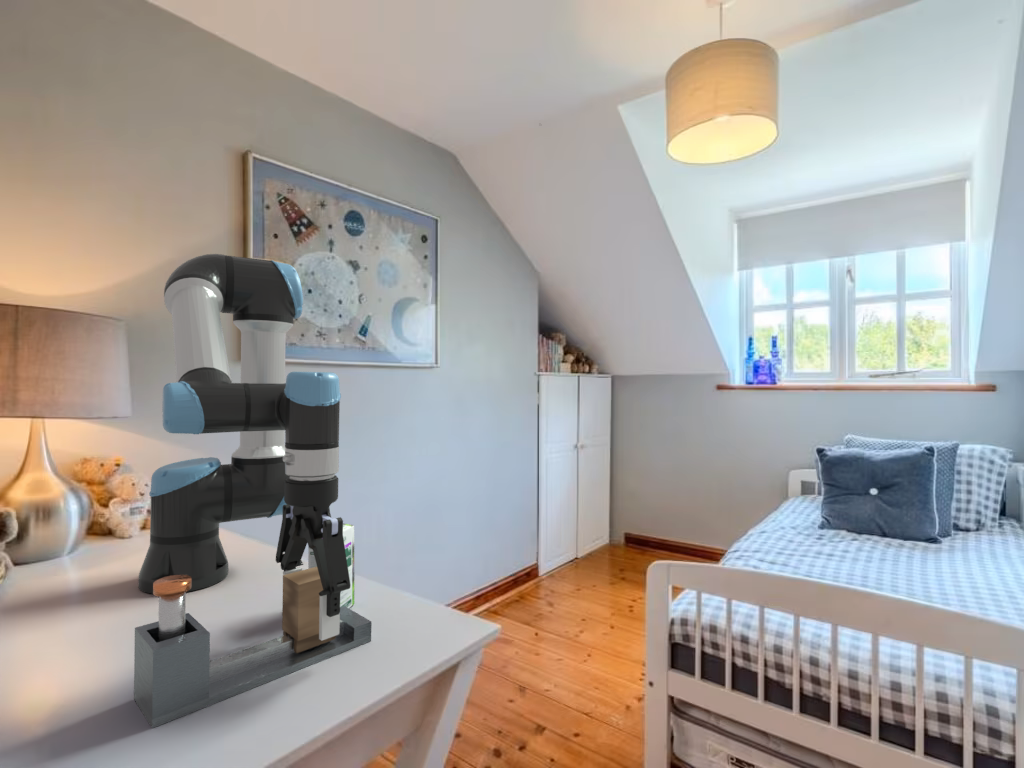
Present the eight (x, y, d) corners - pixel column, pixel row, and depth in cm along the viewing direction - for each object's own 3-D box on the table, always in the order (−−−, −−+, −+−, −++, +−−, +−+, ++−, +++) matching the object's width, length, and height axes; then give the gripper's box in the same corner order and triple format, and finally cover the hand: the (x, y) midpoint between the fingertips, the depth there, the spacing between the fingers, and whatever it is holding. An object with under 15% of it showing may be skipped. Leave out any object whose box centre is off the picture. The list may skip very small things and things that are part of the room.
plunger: (148, 662, 67) (149, 580, 67) (184, 650, 70) (185, 572, 70) (157, 675, 64) (158, 589, 64) (195, 662, 67) (196, 580, 67)
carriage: (282, 642, 80) (282, 575, 80) (320, 628, 84) (321, 565, 84) (297, 654, 76) (298, 584, 76) (336, 639, 81) (337, 573, 81)
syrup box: (338, 618, 91) (339, 532, 91) (306, 615, 92) (307, 530, 92) (354, 604, 96) (356, 523, 96) (324, 601, 98) (325, 521, 97)
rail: (134, 699, 68) (134, 627, 67) (343, 624, 89) (344, 569, 89) (152, 728, 62) (153, 650, 62) (371, 640, 83) (372, 582, 83)
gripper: (253, 468, 85) (251, 607, 85) (328, 491, 69) (325, 661, 70) (299, 463, 91) (297, 594, 91) (378, 483, 75) (375, 641, 75)
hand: (309, 623), depth 80 cm, fingers open, 11 cm apart
